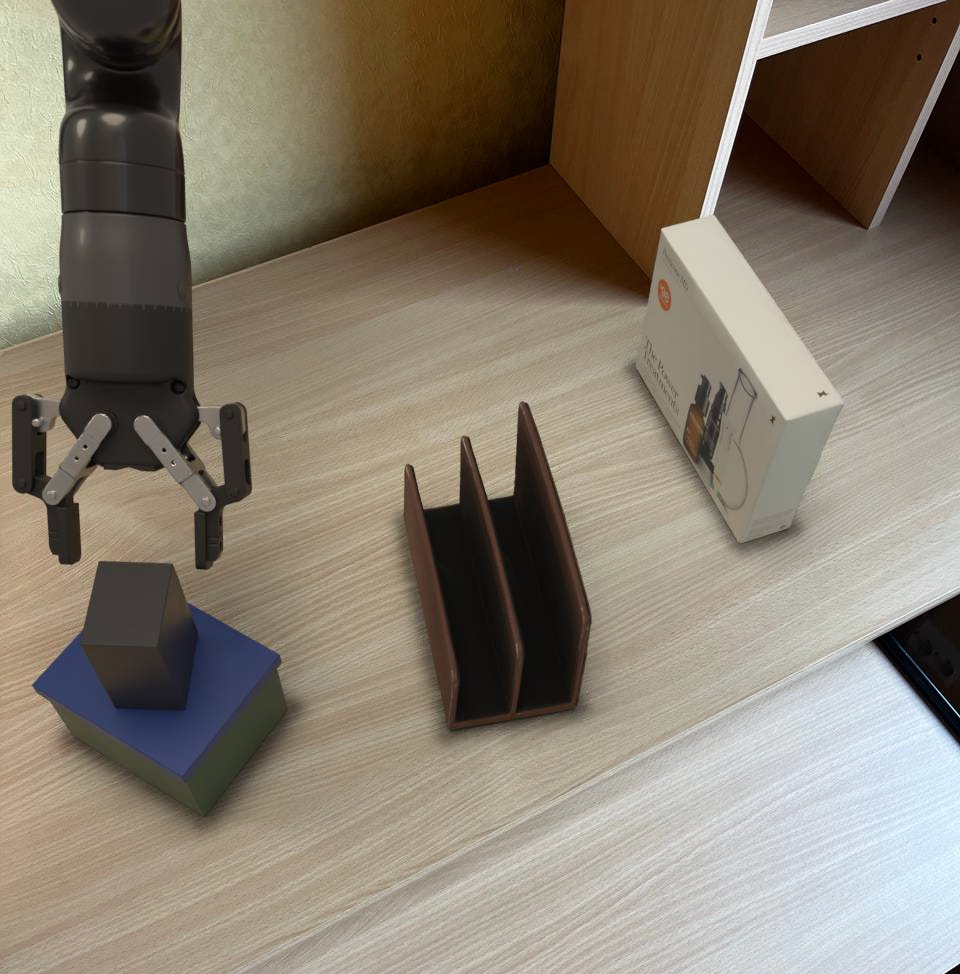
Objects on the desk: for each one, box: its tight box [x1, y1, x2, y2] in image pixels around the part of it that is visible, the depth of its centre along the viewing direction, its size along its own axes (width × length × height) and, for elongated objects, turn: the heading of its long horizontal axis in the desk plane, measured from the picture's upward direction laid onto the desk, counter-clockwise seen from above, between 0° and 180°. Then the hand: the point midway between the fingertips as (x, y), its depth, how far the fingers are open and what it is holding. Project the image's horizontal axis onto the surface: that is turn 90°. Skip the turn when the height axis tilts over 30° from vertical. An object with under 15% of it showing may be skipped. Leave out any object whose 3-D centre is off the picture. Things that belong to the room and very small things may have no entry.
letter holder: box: [403, 400, 593, 731], centre depth 80 cm, size 10×20×14 cm, turn 12°
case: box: [80, 560, 198, 710], centre depth 70 cm, size 5×6×8 cm
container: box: [31, 601, 288, 817], centre depth 77 cm, size 13×11×8 cm
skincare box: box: [635, 214, 845, 544], centre depth 89 cm, size 21×6×16 cm, turn 21°
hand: (137, 565), depth 70 cm, fingers open, 8 cm apart
